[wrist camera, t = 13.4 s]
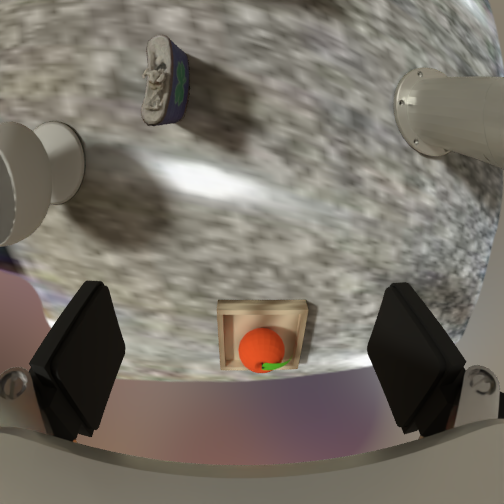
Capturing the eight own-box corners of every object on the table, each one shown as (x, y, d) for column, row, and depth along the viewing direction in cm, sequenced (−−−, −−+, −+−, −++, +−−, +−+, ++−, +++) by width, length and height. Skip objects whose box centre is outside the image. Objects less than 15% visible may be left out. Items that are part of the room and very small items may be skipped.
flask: (168, 51, 28) (140, 30, 18) (193, 50, 28) (173, 27, 18) (163, 123, 32) (133, 128, 22) (187, 123, 32) (165, 127, 23)
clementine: (291, 318, 44) (298, 351, 38) (285, 350, 47) (291, 382, 41) (239, 317, 44) (239, 351, 38) (237, 349, 47) (237, 382, 41)
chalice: (107, 137, 32) (37, 157, 19) (74, 225, 37) (15, 278, 24) (36, 101, 28) (-39, 111, 15) (12, 186, 33) (-53, 222, 20)
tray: (305, 299, 44) (308, 309, 42) (295, 358, 50) (297, 368, 47) (218, 299, 43) (216, 310, 41) (221, 359, 49) (220, 369, 47)
